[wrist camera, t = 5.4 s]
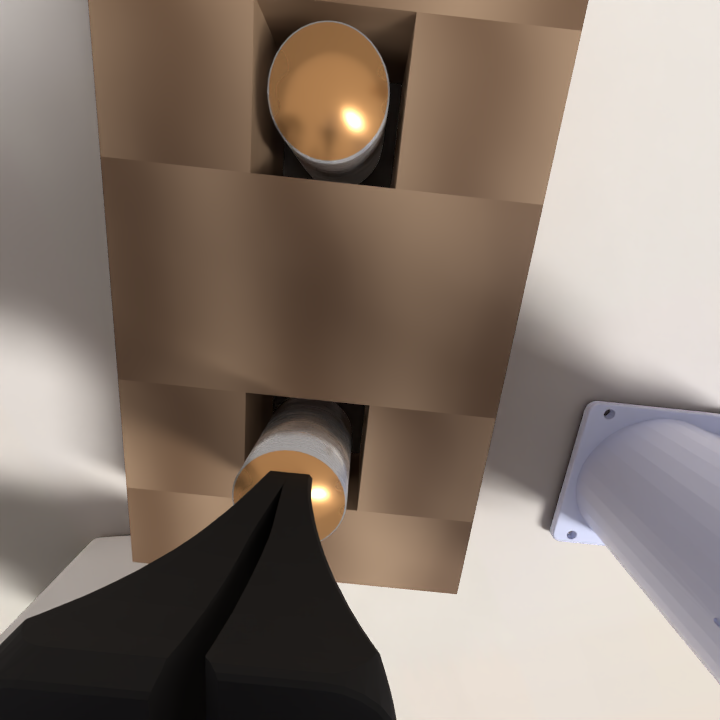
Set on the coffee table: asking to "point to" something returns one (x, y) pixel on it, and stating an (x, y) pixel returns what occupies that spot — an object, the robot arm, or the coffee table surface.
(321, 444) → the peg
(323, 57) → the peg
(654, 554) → the robot arm
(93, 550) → the medicine bottle
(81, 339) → the coffee table surface
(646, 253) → the coffee table surface
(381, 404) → the socket block
